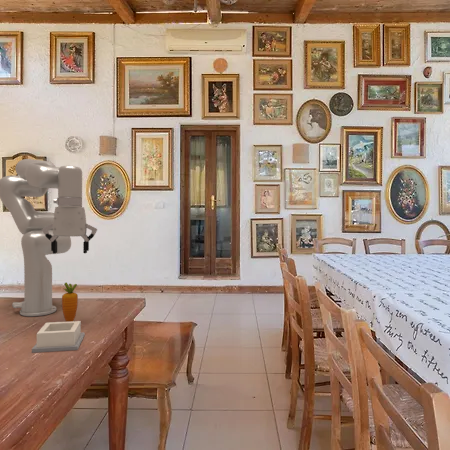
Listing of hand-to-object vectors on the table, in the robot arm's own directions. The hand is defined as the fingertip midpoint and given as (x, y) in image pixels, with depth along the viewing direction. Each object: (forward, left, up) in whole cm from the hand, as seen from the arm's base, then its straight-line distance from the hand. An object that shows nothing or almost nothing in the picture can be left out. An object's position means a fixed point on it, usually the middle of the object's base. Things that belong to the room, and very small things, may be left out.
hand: (70, 253), depth 122 cm
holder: (0, -17, -25) cm, 30 cm away
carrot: (0, 0, -25) cm, 25 cm away
